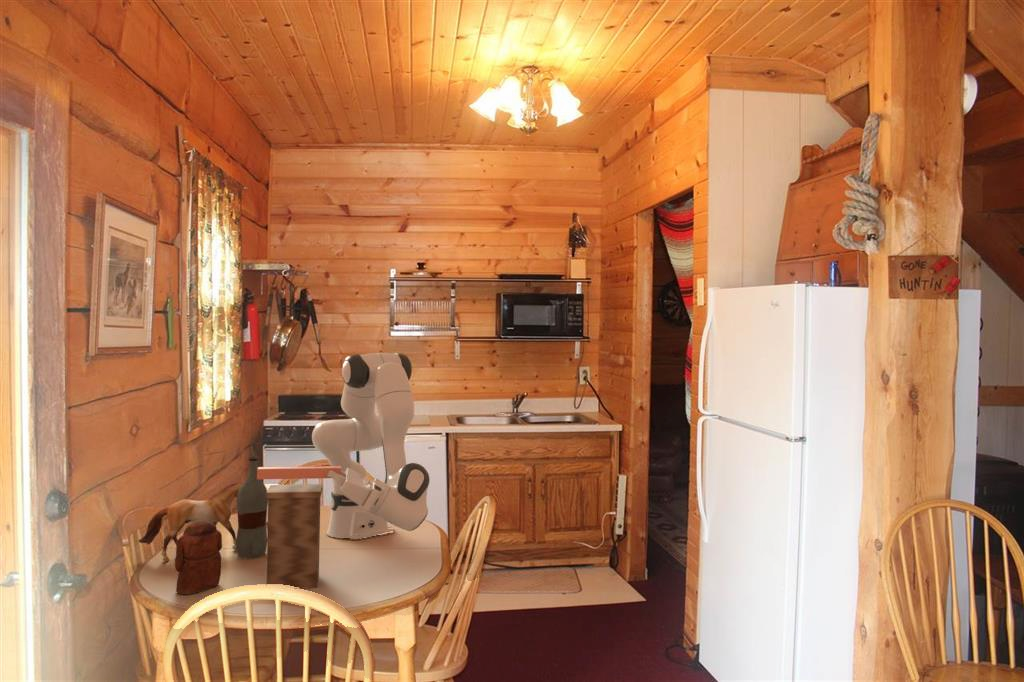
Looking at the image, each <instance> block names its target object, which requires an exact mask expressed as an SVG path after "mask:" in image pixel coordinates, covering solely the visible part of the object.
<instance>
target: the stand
mask: <svg viewBox="0 0 1024 682" xmlns="http://www.w3.org/2000/svg"><path fill="white" fill-rule="evenodd" d="M323 488H324V487H323V484H322V483H317V484H316V483H312V484H311V483H310V484H309V483H308V484H306V483H305V484H302V483H301V484H277V485H270V487H269V489H268V491H267V492H266V498H268V523H267V548H266V585H267V584H283V585H290V586H294V587H299V588H298V589H312V588H313V589H316V588H317V587H318V583H319V577H320V537H321V536H320V532H321V497H322V494H323V493H322V492H323ZM305 587H306V588H305Z"/></svg>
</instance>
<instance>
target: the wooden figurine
mask: <svg viewBox="0 0 1024 682" xmlns="http://www.w3.org/2000/svg"><path fill="white" fill-rule="evenodd" d="M222 538H223V535H222V532H221V531H220V530H218V529H217V525H216V526H215V525H214V524H213V523H211V522H209V521H205V520H200V521H196V522H190V524H189V525H187V527H185V529H184V531H183V532H182V536H180V537H179V538H177V540H178V541H177V546H176V549H175V559H174V567H175V571H176V572H178V574H177V579H176V587H175V588H176V589H175V593H176V592H177V593H176V594H178V593H179V595H183V594H185V595H191V594H192V595H193V594H196V592H197V593H199V591H200V592H202V591H204V590H207V589H210V588H213V587H217V586H218V585H219V583H220V579H221V573H222V556H221V552H220V551H221V550H222V548H223V539H222Z"/></svg>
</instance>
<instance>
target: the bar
mask: <svg viewBox="0 0 1024 682" xmlns="http://www.w3.org/2000/svg"><path fill="white" fill-rule="evenodd" d="M329 470H333V471H335V472H336V473H338V474H340V475H341V466H328V465H327V466H323V465H322V466H320V465H319V466H259V467H258V469H257V479H261V480H296V479H298V480H302V479H303V480H305V479H306V480H307V479H331V478H330V477H329V476H328V475H327V474H328V472H329Z"/></svg>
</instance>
